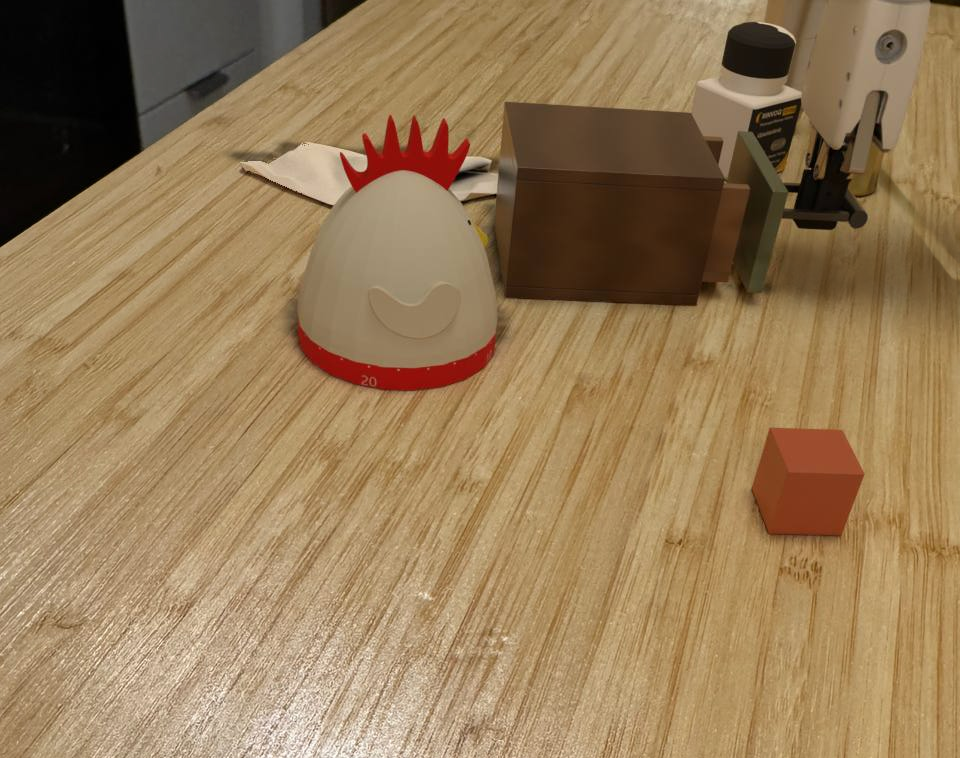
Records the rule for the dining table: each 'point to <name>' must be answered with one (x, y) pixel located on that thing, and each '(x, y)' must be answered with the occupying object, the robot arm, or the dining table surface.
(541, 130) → the cabinet
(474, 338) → the kitchen timer
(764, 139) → the medicine bottle
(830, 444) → the block
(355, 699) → the dining table surface
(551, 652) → the dining table surface
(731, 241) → the drawer
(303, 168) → the cloth
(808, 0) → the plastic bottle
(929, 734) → the dining table surface
